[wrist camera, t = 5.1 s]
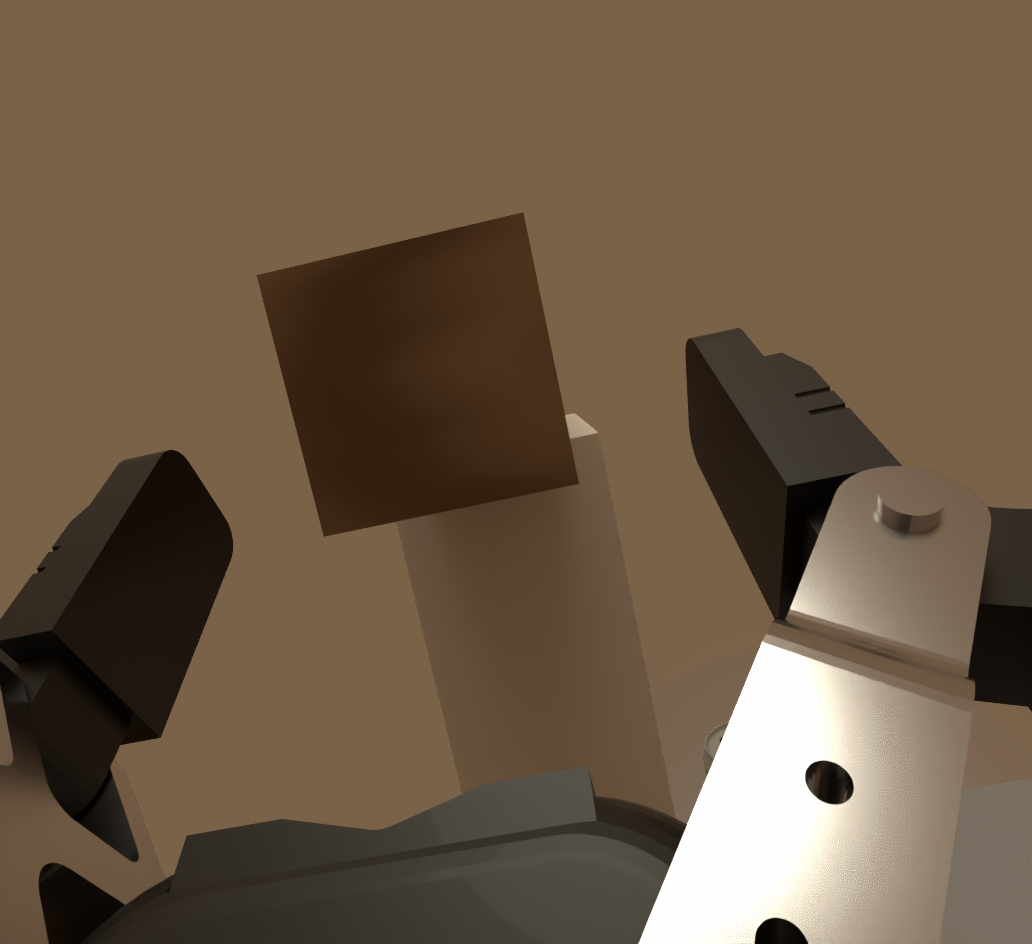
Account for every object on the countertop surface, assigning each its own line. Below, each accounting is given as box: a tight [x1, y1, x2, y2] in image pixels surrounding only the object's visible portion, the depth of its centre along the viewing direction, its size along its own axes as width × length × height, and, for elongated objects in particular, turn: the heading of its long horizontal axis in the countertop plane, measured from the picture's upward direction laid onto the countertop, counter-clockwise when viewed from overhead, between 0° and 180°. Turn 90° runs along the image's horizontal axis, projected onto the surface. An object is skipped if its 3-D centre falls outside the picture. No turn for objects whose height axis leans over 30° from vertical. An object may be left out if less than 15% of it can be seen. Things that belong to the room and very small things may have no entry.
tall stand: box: [396, 413, 676, 818], centre depth 26 cm, size 7×14×32 cm, turn 178°
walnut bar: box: [257, 213, 579, 536], centre depth 20 cm, size 4×22×4 cm, turn 178°
